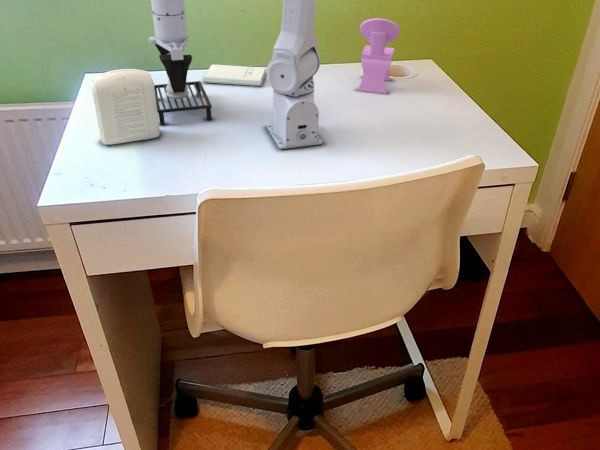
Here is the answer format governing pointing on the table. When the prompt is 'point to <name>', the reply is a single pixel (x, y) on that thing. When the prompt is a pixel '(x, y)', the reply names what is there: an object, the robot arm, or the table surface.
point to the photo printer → (125, 106)
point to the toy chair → (377, 53)
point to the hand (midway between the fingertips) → (176, 85)
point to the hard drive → (235, 75)
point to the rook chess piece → (175, 95)
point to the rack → (198, 88)
